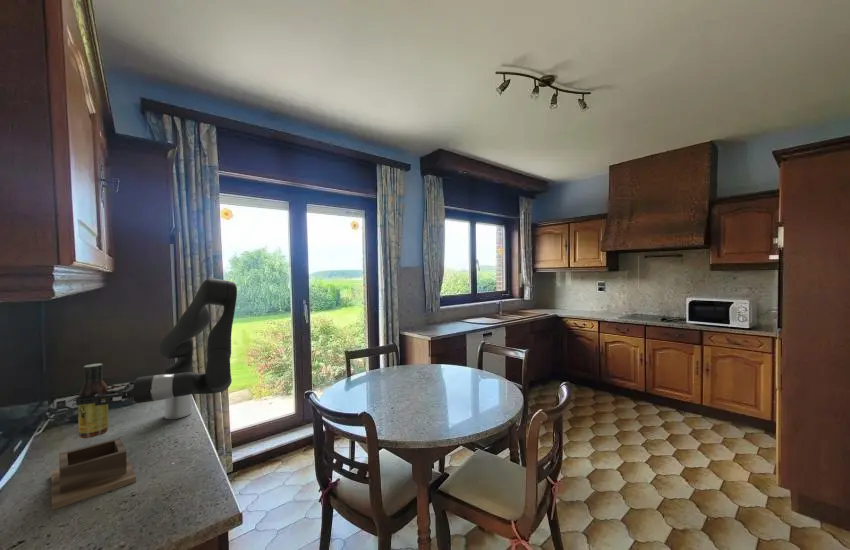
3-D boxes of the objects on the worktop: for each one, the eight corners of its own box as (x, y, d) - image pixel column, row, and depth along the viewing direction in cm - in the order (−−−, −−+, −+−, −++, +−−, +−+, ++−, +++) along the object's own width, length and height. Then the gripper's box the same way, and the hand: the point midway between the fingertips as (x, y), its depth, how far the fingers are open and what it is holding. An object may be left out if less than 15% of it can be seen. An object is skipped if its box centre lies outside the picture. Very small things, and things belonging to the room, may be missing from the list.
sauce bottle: (77, 435, 98) (76, 365, 99) (107, 428, 103) (106, 361, 103) (79, 442, 94) (77, 368, 94) (110, 434, 99) (108, 364, 99)
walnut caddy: (51, 476, 100) (51, 450, 100) (124, 455, 112) (124, 431, 112) (51, 510, 85) (51, 479, 85) (136, 481, 97) (135, 454, 97)
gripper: (160, 370, 112) (91, 377, 104) (149, 381, 99) (69, 391, 91) (161, 393, 111) (91, 402, 104) (150, 407, 99) (70, 420, 91)
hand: (82, 397), depth 97 cm, fingers closed on sauce bottle, 6 cm apart
